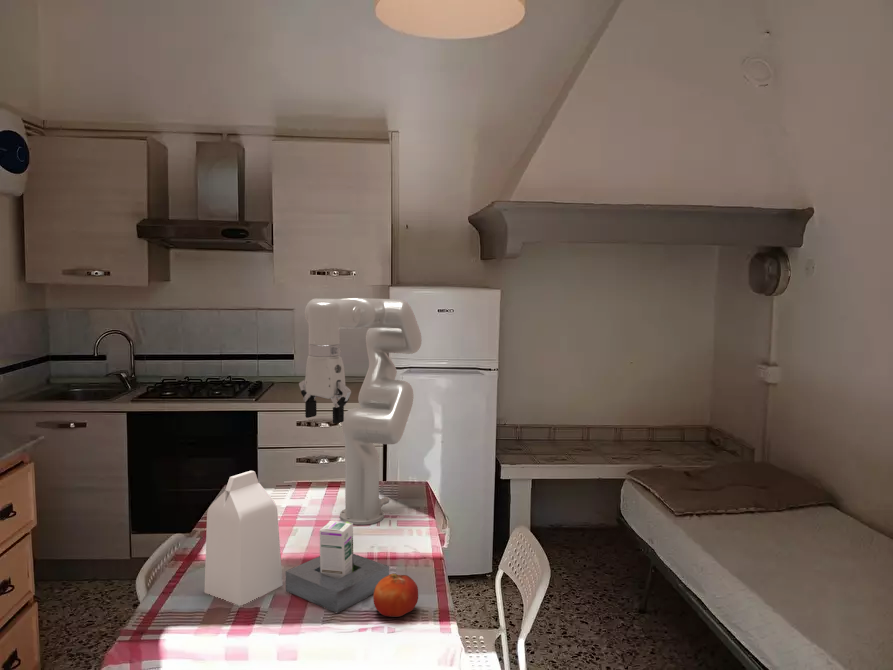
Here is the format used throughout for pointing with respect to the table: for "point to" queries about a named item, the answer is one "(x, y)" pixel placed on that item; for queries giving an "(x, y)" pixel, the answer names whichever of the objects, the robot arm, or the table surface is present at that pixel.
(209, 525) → the milk
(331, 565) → the syrup box
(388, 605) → the tomato
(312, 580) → the bore block
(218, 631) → the table surface
